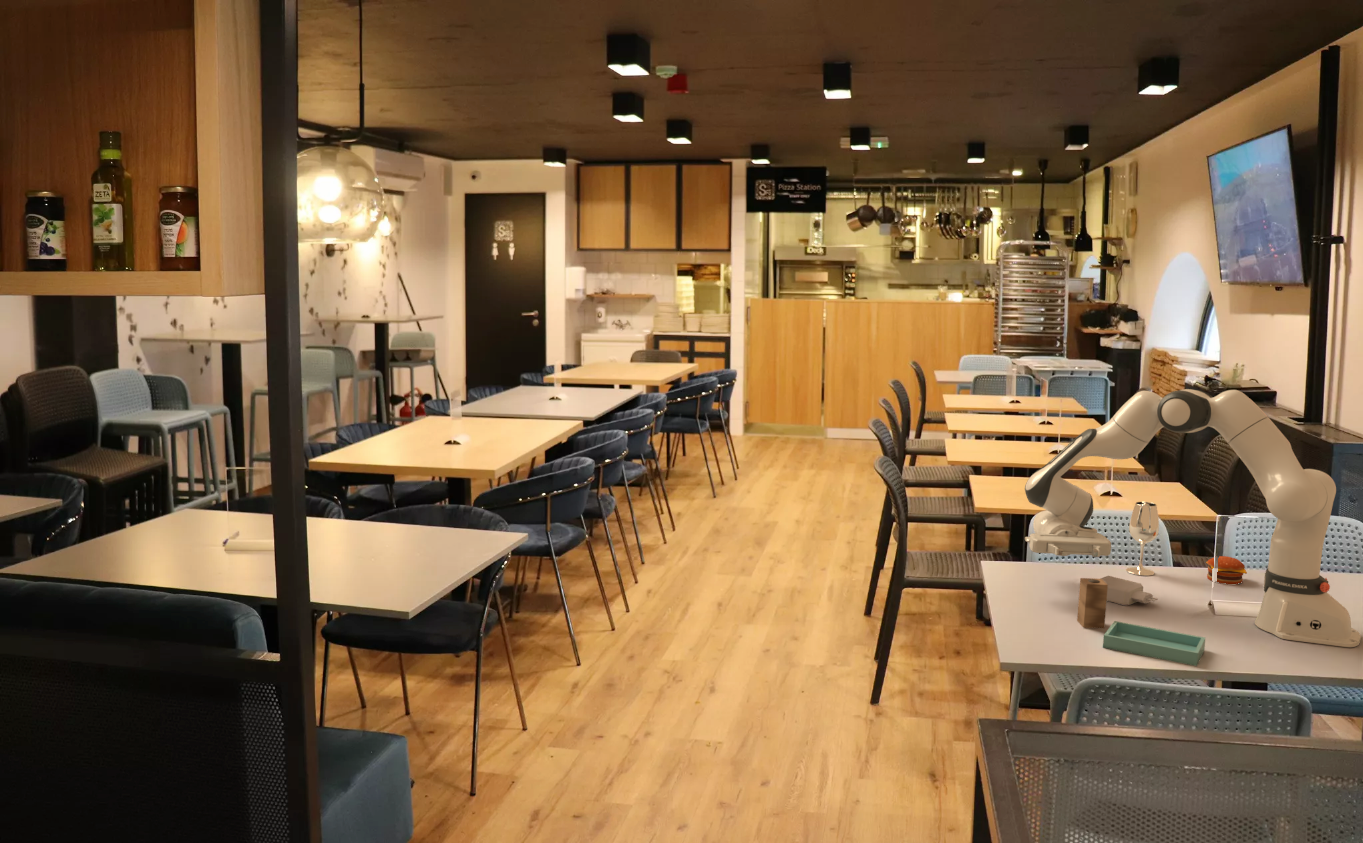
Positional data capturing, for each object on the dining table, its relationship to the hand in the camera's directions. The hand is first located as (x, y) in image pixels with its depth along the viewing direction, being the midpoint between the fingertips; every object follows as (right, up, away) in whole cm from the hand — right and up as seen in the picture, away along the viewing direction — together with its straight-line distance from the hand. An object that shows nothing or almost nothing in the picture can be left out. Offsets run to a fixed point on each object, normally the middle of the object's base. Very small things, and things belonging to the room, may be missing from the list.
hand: (1078, 553), depth 285 cm
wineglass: (+30, -10, +35) cm, 47 cm away
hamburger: (+51, -11, +29) cm, 60 cm away
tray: (+8, -19, -26) cm, 33 cm away
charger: (+16, -14, +9) cm, 23 cm away
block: (0, -16, -10) cm, 19 cm away
